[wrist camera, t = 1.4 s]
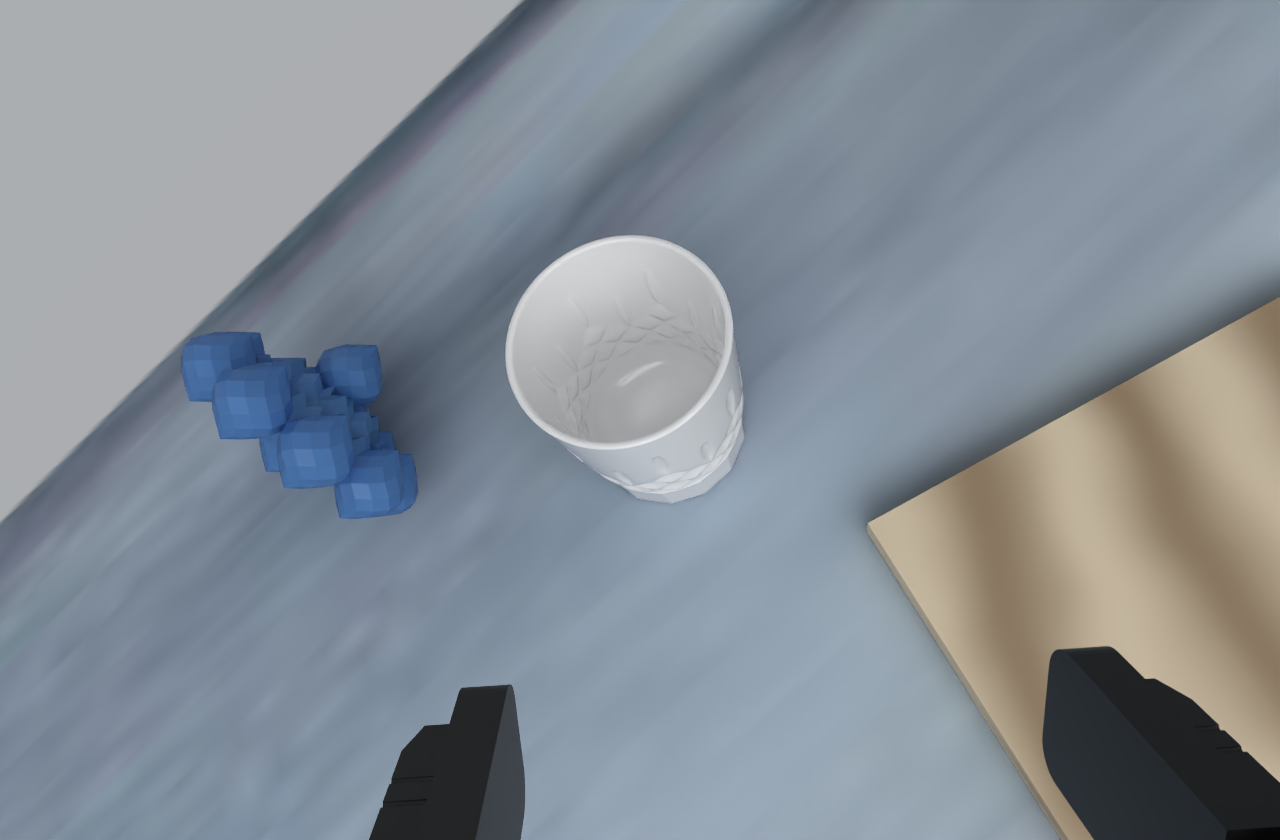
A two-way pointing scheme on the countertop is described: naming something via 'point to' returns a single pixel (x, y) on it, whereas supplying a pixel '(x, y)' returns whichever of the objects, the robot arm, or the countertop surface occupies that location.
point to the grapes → (305, 418)
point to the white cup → (632, 365)
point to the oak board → (1117, 550)
